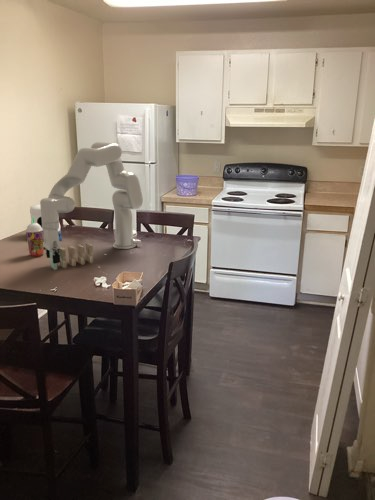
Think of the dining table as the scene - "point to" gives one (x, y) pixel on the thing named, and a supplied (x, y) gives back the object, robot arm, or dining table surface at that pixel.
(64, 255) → the domino
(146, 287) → the dining table surface
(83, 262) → the domino
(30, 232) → the smoothie
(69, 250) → the domino
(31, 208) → the milk container
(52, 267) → the domino
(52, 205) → the robot arm
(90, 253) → the domino
